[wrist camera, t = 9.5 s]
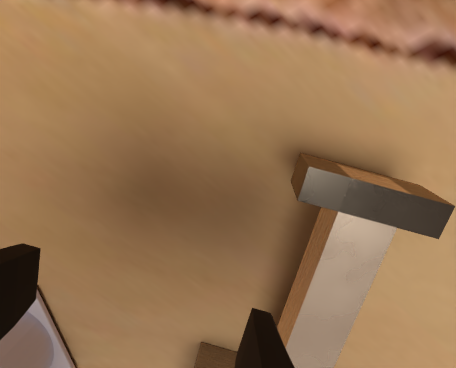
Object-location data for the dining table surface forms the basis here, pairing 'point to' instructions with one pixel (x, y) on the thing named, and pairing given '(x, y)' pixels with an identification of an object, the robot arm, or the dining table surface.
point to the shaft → (346, 250)
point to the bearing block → (215, 357)
